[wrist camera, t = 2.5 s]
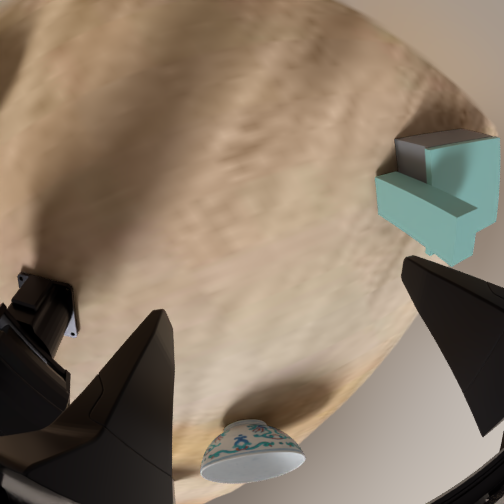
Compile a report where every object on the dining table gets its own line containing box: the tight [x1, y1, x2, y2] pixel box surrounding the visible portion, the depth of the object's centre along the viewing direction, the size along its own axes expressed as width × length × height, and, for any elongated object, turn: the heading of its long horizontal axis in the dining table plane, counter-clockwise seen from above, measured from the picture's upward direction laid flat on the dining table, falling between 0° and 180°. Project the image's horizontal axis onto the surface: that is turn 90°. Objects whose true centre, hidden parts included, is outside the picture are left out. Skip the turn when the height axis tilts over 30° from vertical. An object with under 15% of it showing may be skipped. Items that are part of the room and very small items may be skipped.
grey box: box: [394, 129, 493, 244], centre depth 21 cm, size 10×9×4 cm
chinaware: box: [200, 419, 306, 483], centre depth 33 cm, size 15×15×8 cm
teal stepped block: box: [375, 137, 500, 267], centre depth 18 cm, size 14×9×10 cm, turn 105°
